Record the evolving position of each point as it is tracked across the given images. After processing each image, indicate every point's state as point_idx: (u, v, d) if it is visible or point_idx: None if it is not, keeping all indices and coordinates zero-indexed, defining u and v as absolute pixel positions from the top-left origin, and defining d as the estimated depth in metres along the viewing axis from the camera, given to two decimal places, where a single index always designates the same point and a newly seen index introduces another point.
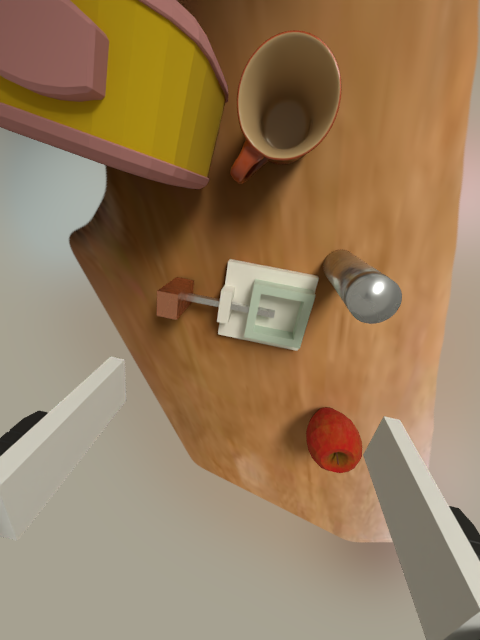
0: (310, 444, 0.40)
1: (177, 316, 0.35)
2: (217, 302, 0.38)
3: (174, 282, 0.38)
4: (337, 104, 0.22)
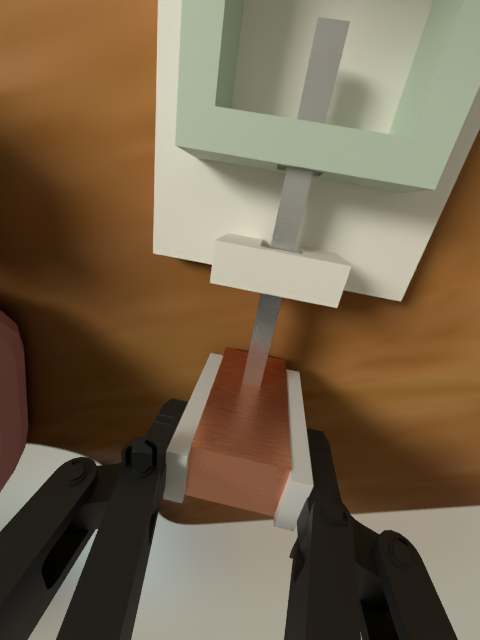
0: None
1: (281, 454, 0.09)
2: (266, 298, 0.11)
3: None
4: None
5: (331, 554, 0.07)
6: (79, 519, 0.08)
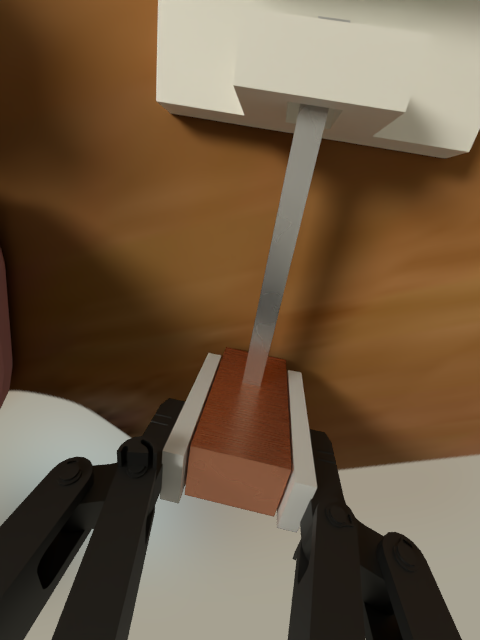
0: None
1: (281, 454, 0.09)
2: (265, 297, 0.11)
3: None
4: None
5: (335, 556, 0.07)
6: (75, 519, 0.08)
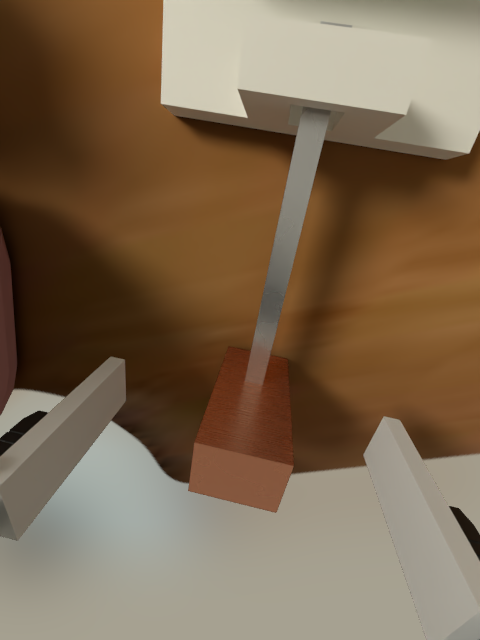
0: None
1: (283, 451, 0.10)
2: (268, 297, 0.11)
3: None
4: None
5: None
6: None
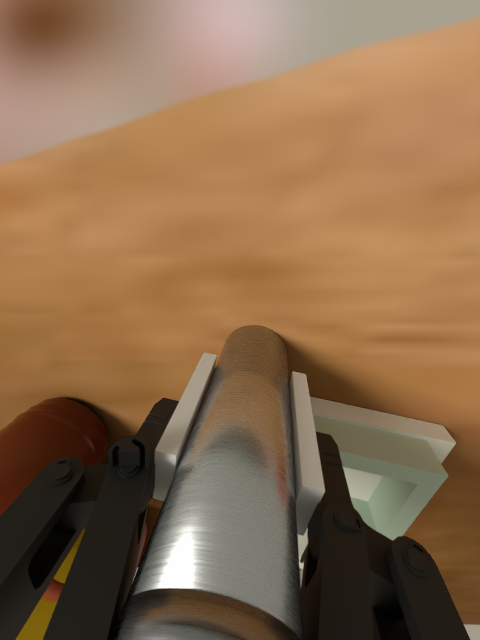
0: None
1: None
2: None
3: None
4: None
5: (344, 560, 0.07)
6: (66, 518, 0.08)
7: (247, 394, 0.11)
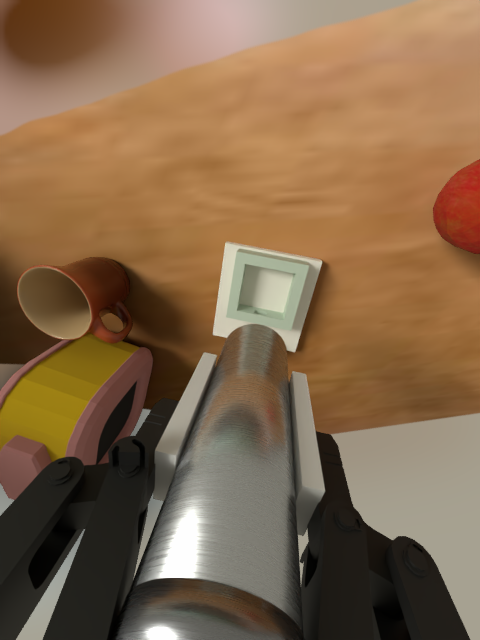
0: None
1: None
2: None
3: None
4: (46, 267, 0.27)
5: (344, 560, 0.07)
6: (67, 519, 0.08)
7: (247, 391, 0.11)
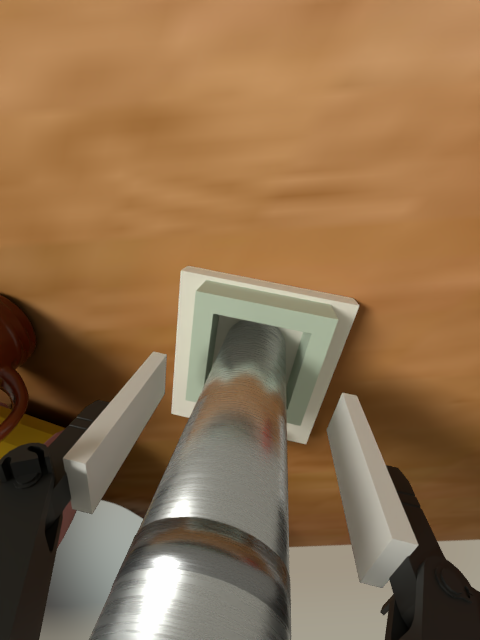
0: None
1: None
2: None
3: None
4: None
5: (449, 629, 0.06)
6: None
7: (245, 374, 0.12)
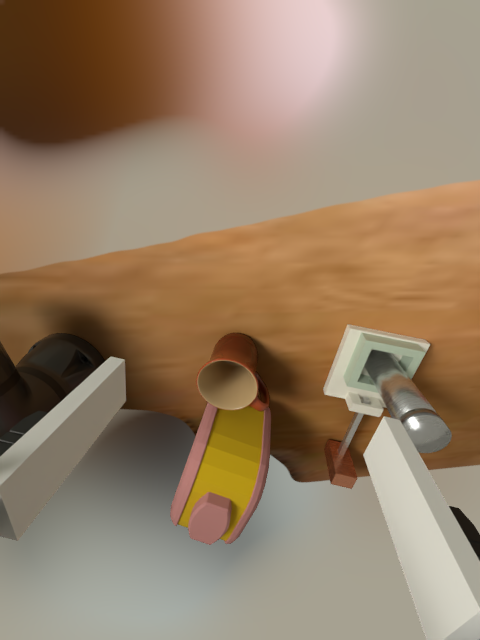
0: None
1: (354, 475, 0.44)
2: (348, 437, 0.46)
3: (327, 458, 0.49)
4: (229, 360, 0.34)
5: None
6: None
7: (401, 375, 0.34)
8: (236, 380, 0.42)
